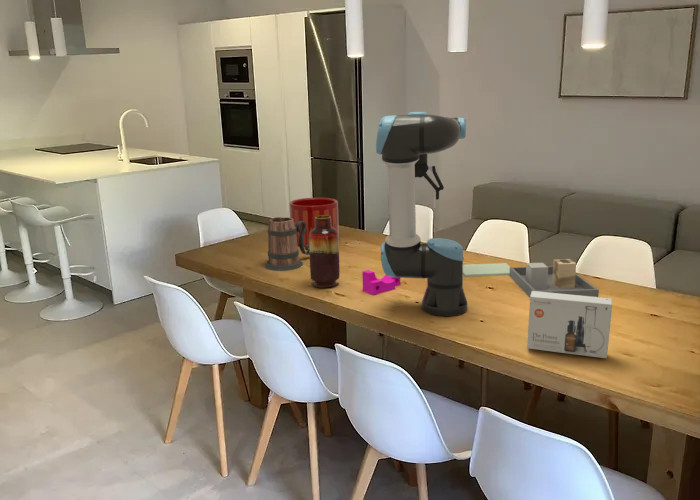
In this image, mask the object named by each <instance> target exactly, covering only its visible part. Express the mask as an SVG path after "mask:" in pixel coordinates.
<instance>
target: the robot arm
mask: <svg viewBox="0 0 700 500" xmlns="http://www.w3.org/2000/svg"><path fill="white" fill-rule="evenodd" d="M377 128H378V129H377V134H376V144H375V149H376V150H375V151H376V153H377V154H378V155H381V161H382V162H383V163H384V164H385V165H386V167H387V171H386V172H387V194H388V195H387V197H388V198H387V199H388V223H389V225H388V229H389V230H388V231H389V234H388V235H387V236H386V237H385V241H384V242H382V243H381V246H380V261H381V267H382V270H383V273H384V274H385V275H387V276H389V277H397V278H400V279H402V278H403V279H405V278H406V279H426V280H427V282H426V283H427V284H426V288H425V291H424V294H423V298H422V300H421V309H422V311H423V312H425V313H427V314H429V315H433V316H438V317H439V316H441V317H453V316H458V315H462V314H465V313H467V311H468V299H467V297H466V294H465V290H464V286H463V285H464V284H463V281H464V279H463V277H464V275H463V265H464V264H463V263H464V260H465V259H464V257H465V256H464V248H463V246H462V245H461V244H460V242H458V241H455V240H452V239H448V238H441V237H435V238H434V237H432V238H429V239H428V240H427V242H426V243H423V242H421V236H420V235H418V234H417V232H416V231H417V228H416V225H417V222H416V221H417V219H416V216H417V215H416V178H424V179H425V180H426V181H427V182H428V184H430V185H431V187H432V188H433V189H434V190H433V209H437V200H439V199H440V191H443V190H444V188H445V187H444V184H443V183H442V180H441V178H440V176H439V174H438V173H437V170H436V167H437V166H436V165H430V166H429V165H428V155H429V154H435V153H439V152H440V153H441V152H443V151H446V150H448V149H450V148H452V147H454V146H456V144H457V143H458V141H459V140H463V139H465V138H466V136H467V135H466V134H467V133H466V132H467V120H466V117H465V118H464V117H457V116H456V117H449V116H448V117H447V116H441V115H434V114H428V113H427V111H411V112H408V113H407V114H395V115H394V114H392V115H384V116H383V117H382V118H381V119H380V121H379V124H378V127H377ZM428 171H430V172H432V174H433V176H434V178H435V182H436V183H437V184H436V183H435V182H434V180H432V178H431V177H430V176H429V174H428V173H427V172H428Z"/></svg>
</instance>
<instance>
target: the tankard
mask: <svg viewBox="0 0 700 500" xmlns="http://www.w3.org/2000/svg"><path fill="white" fill-rule="evenodd" d="M301 224H302V229H301V226H300V225H301ZM300 229H301V231H300ZM305 231H306V223H305V222H304V221H298V222H297V223H296V224H295V223H294V219H293V218H290V217H281V216H280V217H279V216H278V217H272V218H270V219H269V221H268V228H267V239H268V245H267V246H268V251H267V256H268V260H266V263H265V264H264V268H265V270H269V271H274V272H285V271H293V270H297V269H300V268H302V267H303V265H304V263H303V262H302V260H301V259H300V257H299V254H300V253H299V249H300V251H301V253H302V254H303V255H306V256H310V254H309V245H308V244H307V245H305V247H304V246H303V238H304V234H305ZM296 232H299V233H300V235H299V246H297V236H296ZM298 247H299V249H298ZM301 266H302V267H301Z"/></svg>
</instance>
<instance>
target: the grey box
mask: <svg viewBox="0 0 700 500" xmlns="http://www.w3.org/2000/svg"><path fill="white" fill-rule="evenodd" d="M525 264H526V266H525V267H526V281H527V282H528V283H529V284H530V285H531V286H532V287H533V288H534V289H547V281H548V267H547V266H548V265H546V264H545V263H544V262H526V263H525Z"/></svg>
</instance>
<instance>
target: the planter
mask: <svg viewBox="0 0 700 500" xmlns="http://www.w3.org/2000/svg"><path fill="white" fill-rule="evenodd" d="M288 204H289V206H288V207H289V218H293V219H294V223H295V224H296V223H297V222H298V221H304V222H305V223H306V231H305V234H304V238H303V246H304V248H305V245H307V244H308V245H309V232H310V231H311V230H312V229H314V228H315V217H316V216H323V215H325V216H330V217H331V227H332V228H334V229H336V230H337V231H338V238H339V239H340V230H339V229H340V227H339V224H340V223H339V201H338V199H335V198H329V197H305V198H297V199H294V200H291V201H289V203H288ZM300 226H301V229H302V224H301V225H300ZM301 229H300V231H301ZM299 235H300V233H299V232H296V236H297V245H298V246H297V247H299Z"/></svg>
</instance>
